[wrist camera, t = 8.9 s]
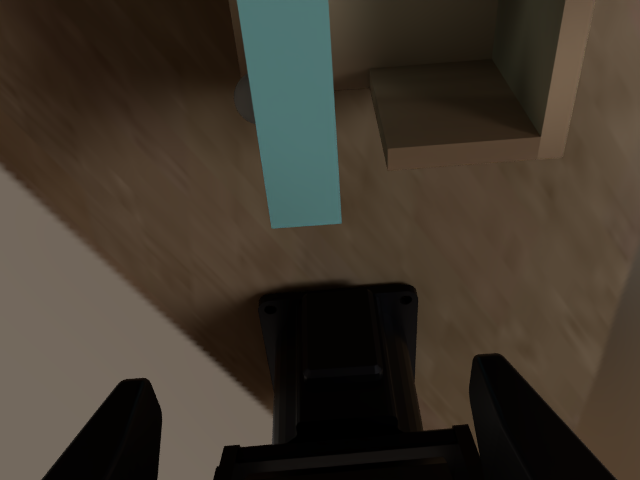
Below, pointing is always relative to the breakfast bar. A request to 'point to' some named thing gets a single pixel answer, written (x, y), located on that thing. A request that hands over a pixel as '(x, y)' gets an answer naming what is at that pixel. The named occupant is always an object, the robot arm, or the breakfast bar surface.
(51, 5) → the breakfast bar surface
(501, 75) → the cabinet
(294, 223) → the white and teal holder
